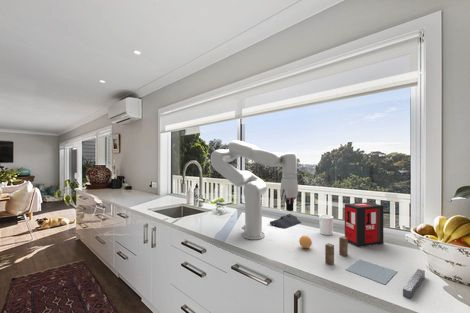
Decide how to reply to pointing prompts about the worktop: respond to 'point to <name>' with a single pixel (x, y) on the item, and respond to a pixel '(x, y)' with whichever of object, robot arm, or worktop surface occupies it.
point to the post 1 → (329, 254)
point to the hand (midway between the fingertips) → (289, 210)
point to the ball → (305, 241)
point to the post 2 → (343, 246)
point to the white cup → (326, 224)
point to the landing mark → (372, 271)
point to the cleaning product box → (364, 224)
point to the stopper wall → (413, 284)
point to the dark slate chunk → (286, 221)
